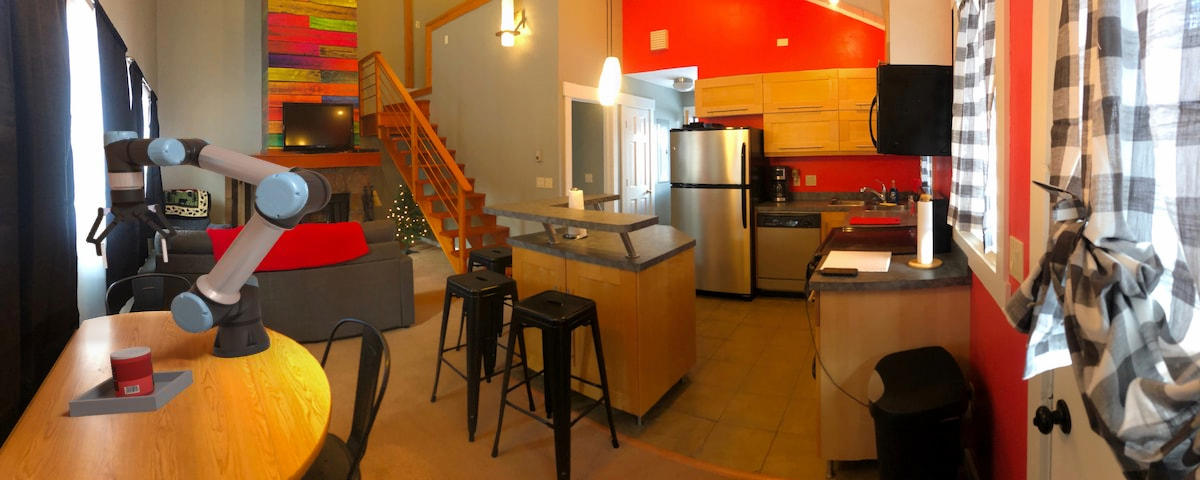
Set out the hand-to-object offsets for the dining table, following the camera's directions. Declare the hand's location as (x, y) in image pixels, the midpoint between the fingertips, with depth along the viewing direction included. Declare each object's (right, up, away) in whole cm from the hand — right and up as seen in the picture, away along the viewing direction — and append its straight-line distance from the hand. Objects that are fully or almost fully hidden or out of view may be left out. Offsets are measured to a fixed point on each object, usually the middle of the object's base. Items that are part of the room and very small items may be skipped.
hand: (136, 264), depth 175 cm
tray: (+16, -32, -21) cm, 42 cm away
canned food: (+16, -31, -21) cm, 41 cm away
